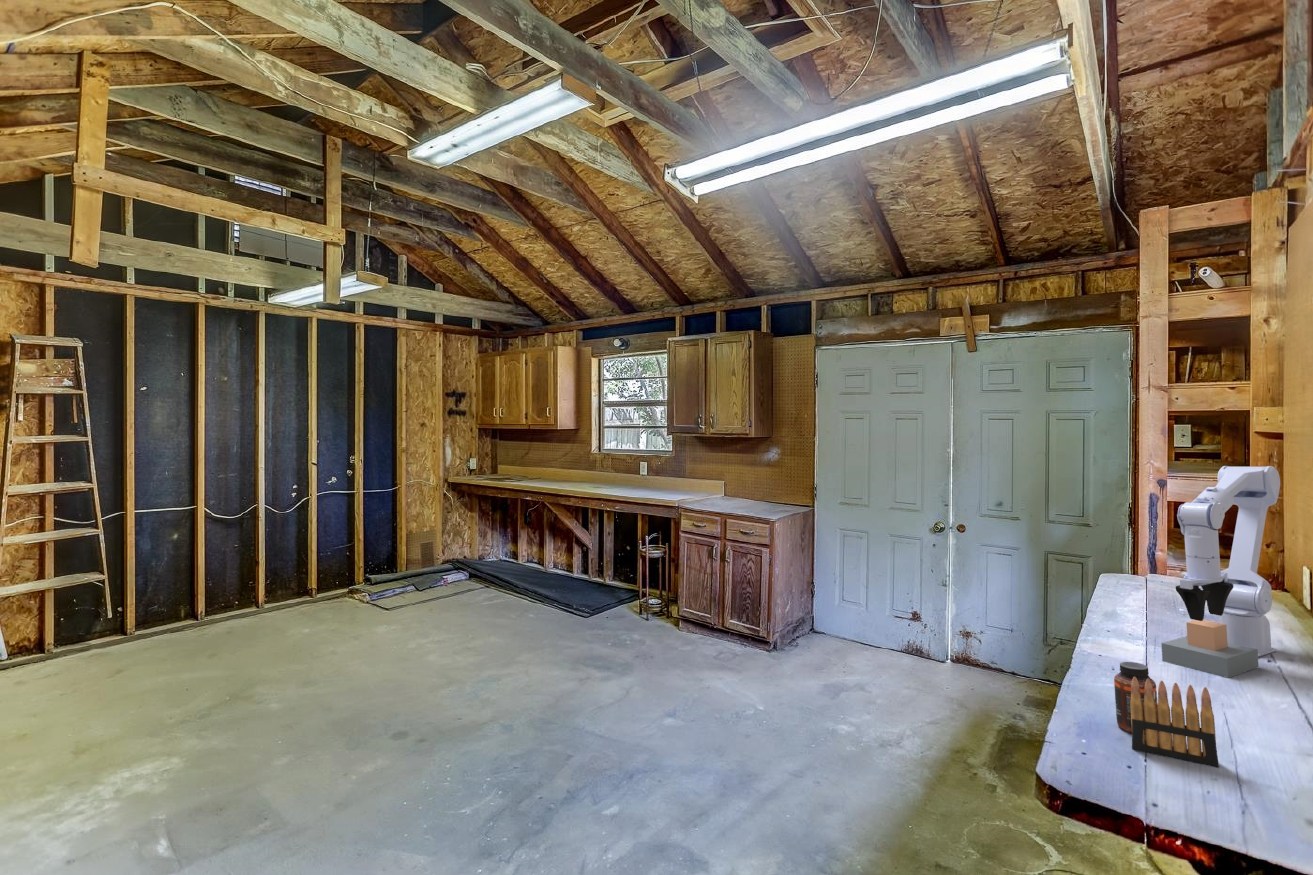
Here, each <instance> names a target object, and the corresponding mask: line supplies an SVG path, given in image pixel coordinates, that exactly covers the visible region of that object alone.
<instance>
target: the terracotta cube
mask: <svg viewBox="0 0 1313 875" xmlns="http://www.w3.org/2000/svg"><path fill="white" fill-rule="evenodd" d="M1186 636H1187V639H1188V645H1192V646H1196V647H1201V648H1205V649H1209V650H1214V651H1216V650H1220V649H1223V648H1226V647H1228V642H1227V626H1226V624H1222V623H1220V622H1216V621H1212V620H1208V619H1207V620H1206V619H1203V621H1198V620H1193V619H1192V620H1191V621H1187V622H1186Z"/></svg>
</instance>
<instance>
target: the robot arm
mask: <svg viewBox="0 0 1313 875" xmlns="http://www.w3.org/2000/svg"><path fill="white" fill-rule="evenodd" d="M1280 488H1281V478H1280V474H1279V471H1278V469H1277V468H1275V466H1272V465H1268V466H1228V465H1223V466H1222V467H1220V469H1219V470H1218V472H1217V484H1216V485H1215V486H1207V487H1206V488H1205V489H1204V490H1203V491H1202V492H1201V493H1200V494H1199V495H1197V497H1196V498H1195V499H1193V500H1191V501H1192V502H1189V501H1188V502H1187V501H1186V502H1184V503H1182V504H1180V505H1179V507H1178V510H1177V514H1176V517H1177V522H1178V524H1179V526H1180V532H1181V535H1183V536H1184V549H1185V551H1184V552H1185V553H1184V554H1185V566H1186V567H1185V568H1186V572H1182V573H1180V576H1181V577H1183V578H1180V579H1179V584H1178V585H1175V591H1176V593H1177V594H1178V595H1179V596H1180V597H1181V600H1182V602H1183V604H1184V605H1185V608H1186V610H1187V615H1188V616H1189V619H1190V620H1192V621H1193V620H1198V621H1203V620H1205V609H1206V605H1207V611H1208V612H1209V613H1208V614H1210V615H1215V616H1219V619H1220V620H1219V623H1222V624H1226V626H1227V642H1228V643H1232V644H1237V645H1241V646H1246V647H1251V648H1255V649H1258V658H1259V657H1262V656H1265V655H1267V654H1270V653H1271V654H1272V653H1274V652H1276V651H1278V649H1277V648H1275V647H1272V638H1271V636H1272V635H1271V624H1270V621H1269V619H1268V617H1267V616H1266V614H1268V613H1269V612H1270V611H1271V608H1272V606H1273V598H1272V586H1271V584H1270V582H1269V581H1268V580H1266V579H1265V578H1264V577H1262V576H1261V575H1259V574H1258V570H1259V569H1258V568H1259V562H1260V555H1261V549H1262V542H1263V536H1264V531H1265V530H1264V529H1265V523H1266V518H1267V514H1268V509H1269V507H1271V506H1274V505H1276V504H1277V501H1278V499H1279V497H1280V496H1279V495H1280V494H1279V493H1280ZM1233 505H1235V506H1237V507H1238V510H1237V511H1238V512H1237V515H1236V516H1237V517H1236V523H1235V528H1234V534H1233V541H1232V546H1231V553H1230V558H1229V564H1228V567H1226V568H1224V569H1223V570H1221V558H1220V557H1221V556H1220V545H1219V544H1220V542H1219V529H1221V528H1222V527H1223V522H1224V519H1225V516H1226V515H1225V513H1227V511H1228V510H1229V509H1230V508H1231V507H1232V506H1233Z"/></svg>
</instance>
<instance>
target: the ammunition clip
mask: <svg viewBox="0 0 1313 875" xmlns="http://www.w3.org/2000/svg"><path fill="white" fill-rule="evenodd" d="M1158 684H1159V685H1158V689H1157V711H1156V704H1155V700H1154V692H1153V687H1152V684H1151V681H1150V680H1149V679H1147V680H1146V683H1145V689H1144V692H1145V695H1144V716H1143V704H1142V700H1141V694H1140V687H1139V683H1138V680H1137V678H1136V677H1135V676H1134V677H1133V679H1132V684H1131V701H1130V706H1131V723H1132V733H1131V749H1132V750H1133V751H1135V752H1142V753H1146V754H1151V755H1156V756H1160V757H1165V758H1169V759H1174V760H1179V761H1183V762H1184V761H1185V762H1189V763H1193V764H1198V765H1204V766H1208V767H1212V768H1216V769H1219V767H1220V764H1219V756H1218V749H1217V741H1216V740H1217V737H1216V726H1215V723H1216V722H1215V716H1214V712H1213V706H1212V699H1211V695H1210V693H1209V690H1208V688H1207V686H1204V688H1203V689H1202V692H1201V698H1200V699H1201V700H1200V701H1201V704H1200V707H1201V708H1200V709H1201V710H1200V713H1199V710H1198V704H1197V697H1196V693H1195V689H1194V688H1193V685H1191V684H1189V685H1188V687H1187V690H1186V698H1185V699H1186V708H1185V710H1184V707H1183V706H1184V705H1183V700H1182V692H1181V689H1180V686H1179V685H1178V683H1177V682H1174V684H1173V686H1172V689H1171V707H1170V704H1169V699H1168V697H1169V696H1168V691H1167V688H1166V685H1165V683H1164V681H1163V680H1160V682H1159V683H1158ZM1157 713H1158V720H1157ZM1144 729H1145V730H1144ZM1158 731H1159V732H1158Z"/></svg>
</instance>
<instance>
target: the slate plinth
mask: <svg viewBox="0 0 1313 875" xmlns="http://www.w3.org/2000/svg"><path fill="white" fill-rule="evenodd" d="M1161 657H1162V658H1161V659H1162V662H1167V663H1170V664H1174V665H1179V666H1182V667H1186V668H1190V669H1193V670H1197V671H1201V672H1205V673H1208V674H1212V675H1216V676H1220V677H1224V678H1231V677H1234V676H1238V675H1240V674H1244V673H1245V672H1250V671H1252V669H1253V670H1255V668H1256V669H1258V668H1257V667H1259V665H1260V664H1259V657H1258V649H1255V648H1251V647H1246V646H1241V645H1237V644H1232V643H1228V647H1226V648H1223V649H1220V650H1216V651H1214V650H1209V649H1205V648H1201V647H1196V646H1192V645H1188V639H1187V635H1185V636H1181V637H1179V638H1175V639H1172V640H1168V641H1164V642H1161Z"/></svg>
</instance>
